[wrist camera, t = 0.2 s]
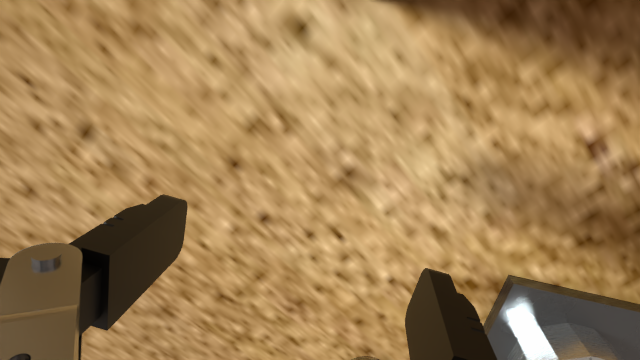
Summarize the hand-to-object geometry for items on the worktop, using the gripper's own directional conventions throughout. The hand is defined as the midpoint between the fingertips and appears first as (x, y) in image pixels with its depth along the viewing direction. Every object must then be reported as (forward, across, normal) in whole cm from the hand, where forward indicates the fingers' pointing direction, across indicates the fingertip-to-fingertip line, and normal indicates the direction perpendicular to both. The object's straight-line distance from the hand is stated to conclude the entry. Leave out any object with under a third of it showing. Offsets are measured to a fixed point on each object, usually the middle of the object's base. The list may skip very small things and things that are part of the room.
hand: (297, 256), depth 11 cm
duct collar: (+19, -25, +15) cm, 35 cm away
